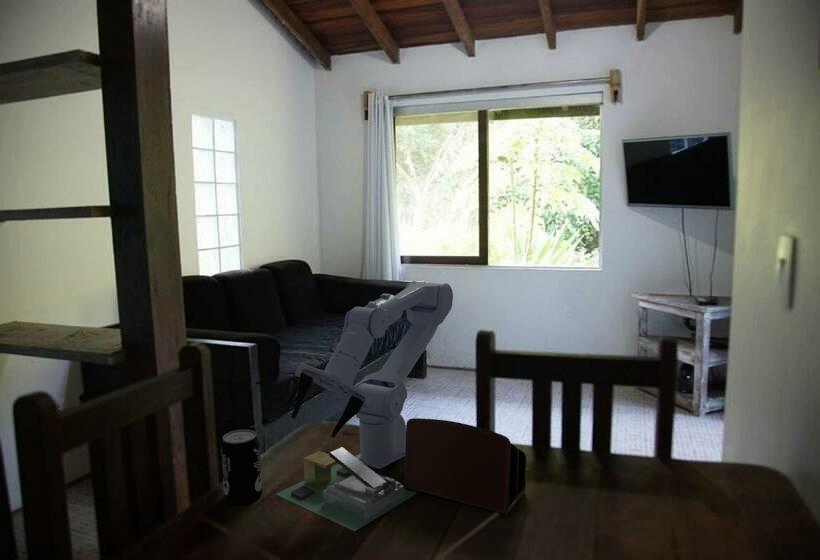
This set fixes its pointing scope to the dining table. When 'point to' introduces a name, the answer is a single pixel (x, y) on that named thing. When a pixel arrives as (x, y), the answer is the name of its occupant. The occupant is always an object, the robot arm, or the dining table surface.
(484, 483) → the letter holder
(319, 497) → the board
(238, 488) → the beverage can
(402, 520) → the dining table surface
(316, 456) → the keeper
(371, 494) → the block
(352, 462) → the strap
